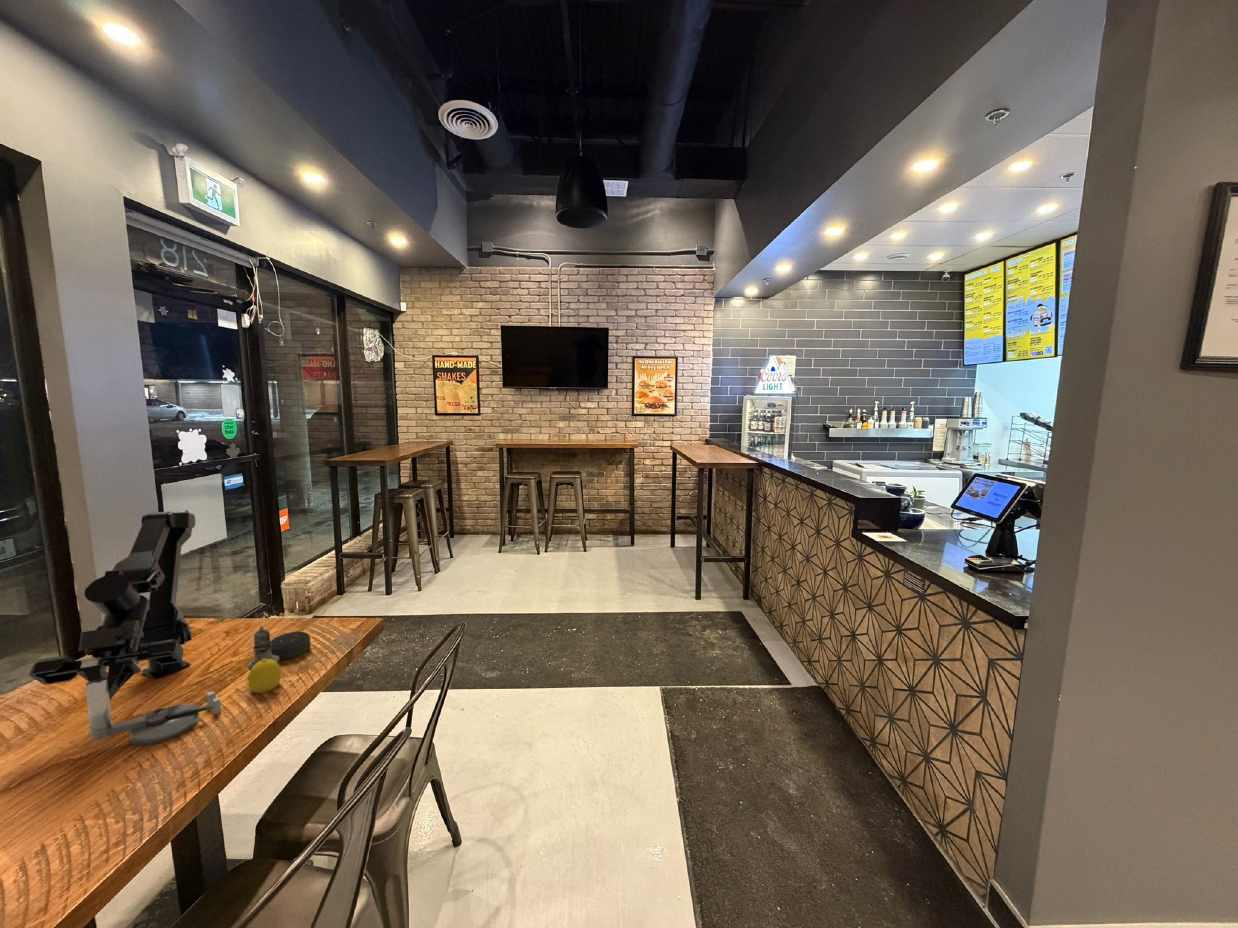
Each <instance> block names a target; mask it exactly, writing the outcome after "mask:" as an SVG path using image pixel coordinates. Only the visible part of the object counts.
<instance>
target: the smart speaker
mask: <svg viewBox="0 0 1238 928" xmlns="http://www.w3.org/2000/svg"><path fill="white" fill-rule="evenodd" d="M270 642H271V643H272V645H271V653H272V655H277V656H279V660H281V661H287V660H286V659H288V660H291V659H295V658H298V657H301V656H302V655H304V654H305V653H306V652H307V653H308V651H309V650H310V648H311V644H312V643H311V636H310V634H309V633H308V632H304V631H292V632H288V633H283V634H281V635H278V636H276V637H274V638H272V639H270ZM297 656H298V657H297ZM279 660H278V662H279Z"/></svg>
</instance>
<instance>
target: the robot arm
mask: <svg viewBox="0 0 1238 928" xmlns="http://www.w3.org/2000/svg"><path fill="white" fill-rule="evenodd" d="M141 517H142V518H141V526H140V529H139V531H138V534H137V536H136V538H135V540H134V543H133V545H132V547H131V550H130V551H129V554H128V555H127V556H126V557H125V558H122V559H121V560H120V561H118V562H117V563H116V564H115V565H114V567H113V568H112V570H106V571H105V572H104V575H103V576H102V577H98V578H96V579H95V580H93V581H92V582H91V583H90V584H88V586H87V587H85V589H84V597H85V598H86V600H87V601H88V602H89V603H90V604H91V605H92V606H93V607H94V608H95V609H96V610H97V611H98V612H99V613H100V614H102V615H104V617H103V620H102V623H101V625H99V626H97V628H96V629H94V630H87V631H82V632H80V639H79V644H78V645H79V646H78V651H79V652H82V651H85V652H84V654H85V655H86V656H91V657H88V658H87V657H86V658H81V659H79V660H75V659H73V657H71V656H70V655H68V654H67V655H61V656H56V657H47V658H41V659H39V660H38V661H37V662H35V664H33V665H32V666H31V669H30V671H29V674H28V676H29V677H31V678H33V680H36V681H37V682H39V683H40V684H42V685H55V684H61V683H65V682H66V683H67V682H71V681H72V680H73V679H75V678H76V677H78V675H79V676H80V677H81V678H83V679H85V681H87V682H90V681H93V680H95V679H99V678H107V681H108V691H109V701H110V702H111V700H112V699H113V697H114V696H115V695H116V694H117V693H118V691H119V690H120V689H121V688H122V687H123V686H124V685H125V684H126V683H127V682H128V681H129V680H130V679H131V678H132V677H133V676H134V675H136V674H140V673H141V674H144V675H145V676H148V677H150V678H152V679H158V678H161V677H163V676H166V675H168V674H171V673H174V672H176V671H180V670H181V669H184V668H188V667H189V666H191V662H188V661H187V660H183V658H184V647H183V645H186V643H187V642H189V641H192V640H193V635H192V631H191V630H192V628H191V626H190V625H189V623H188V622H187V620H186V619H185V617H184V612H182V610H181V609H180V607H179V605H177V596H178V587H179V586H178V585H179V584H178V582H179V573H180V567H181V566H180V565H181V555H182V554H181V552H182V546H183V545H184V544H185V543H186V542H187V541H188V540H189V539H190V538H191V537H192V533H193V529H194V528H195V526H196V516H195V514H194V513H190V512H189V510H187V509H186V510H185V509H184V510H183V509H182V510H172V511H171V510H170V511H158V512H157V511H156V512H148V513H146V514H145V513H144V514H142V516H141ZM147 593H149V598H147V597H146V596H145V595H142V594H147ZM140 594H141V595H140ZM144 661H147V665H148V668H144V669H141V664H142V662H144ZM107 670H108V671H107Z"/></svg>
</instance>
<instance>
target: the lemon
mask: <svg viewBox="0 0 1238 928" xmlns="http://www.w3.org/2000/svg"><path fill="white" fill-rule="evenodd" d="M281 676H282V670H281V667H280V665H279V662H278V663H277V662H276V661H274V660H272V659H262V660H261V661H259V662H258V663H256V664H255V665H254V666H253V667H252V669H251V671H250V670H249V674H248V685H249V688H250V690H251V691H252V692H253V693H255V694H263V693H267V692H270V691H272V690H274V689H275V688H277V686H278V684H279V683H280V682H281V679H282V677H281Z"/></svg>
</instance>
